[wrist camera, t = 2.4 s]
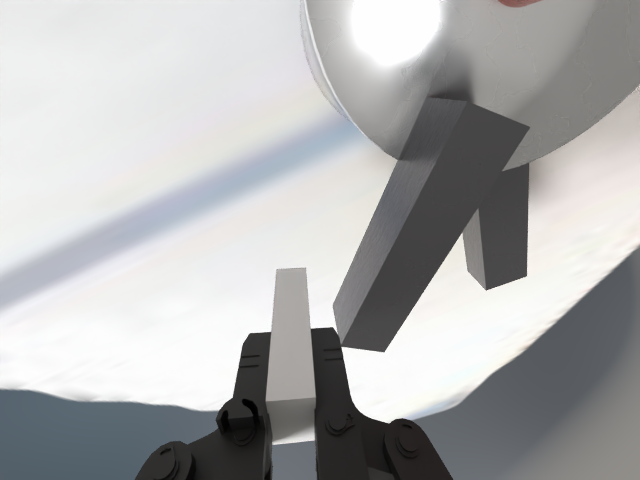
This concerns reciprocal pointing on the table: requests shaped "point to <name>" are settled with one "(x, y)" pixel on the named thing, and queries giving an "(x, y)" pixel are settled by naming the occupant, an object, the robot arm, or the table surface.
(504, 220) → the pot
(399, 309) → the lid
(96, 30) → the table surface
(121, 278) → the table surface
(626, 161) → the table surface
